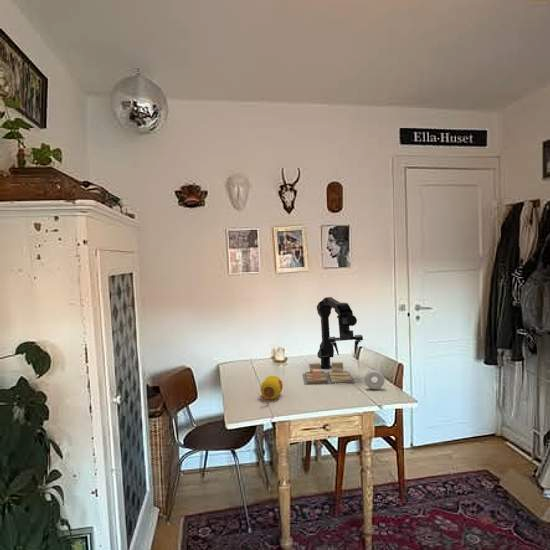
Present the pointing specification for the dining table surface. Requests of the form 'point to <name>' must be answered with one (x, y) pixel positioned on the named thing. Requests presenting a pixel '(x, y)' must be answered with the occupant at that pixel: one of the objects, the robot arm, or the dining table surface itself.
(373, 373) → the donut
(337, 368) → the tan piece
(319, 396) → the dining table surface
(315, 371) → the block
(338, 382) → the lane mat
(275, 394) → the yellow piece
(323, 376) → the darker brown strip
